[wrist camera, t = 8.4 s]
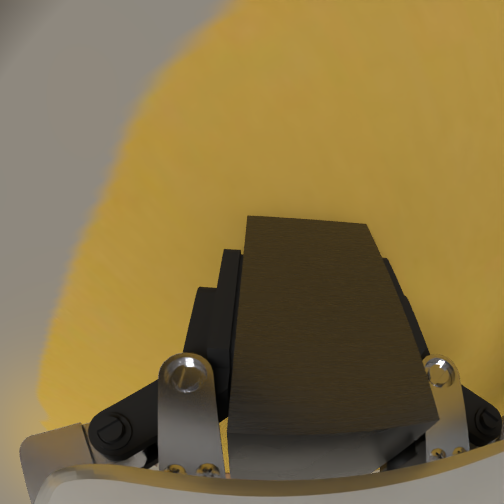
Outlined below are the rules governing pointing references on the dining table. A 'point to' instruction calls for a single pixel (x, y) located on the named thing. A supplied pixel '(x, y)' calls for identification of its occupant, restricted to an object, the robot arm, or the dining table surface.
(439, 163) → the dining table surface
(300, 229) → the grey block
